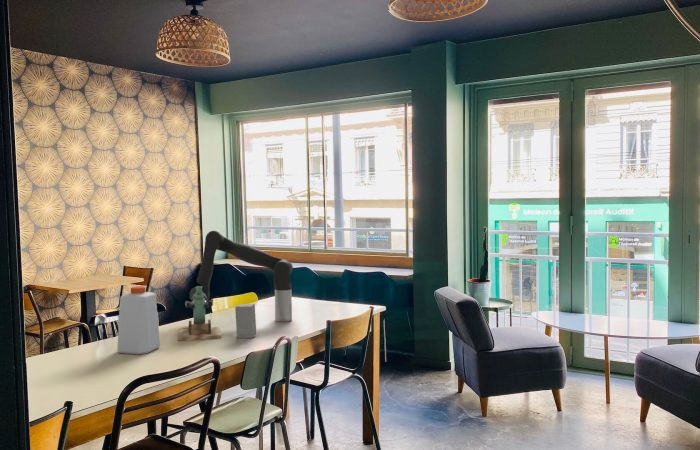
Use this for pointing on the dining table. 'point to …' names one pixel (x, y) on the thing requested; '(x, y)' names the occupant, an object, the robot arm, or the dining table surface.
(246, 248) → the robot arm
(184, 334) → the u rest
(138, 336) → the plastic bottle
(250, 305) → the skincare box
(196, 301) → the bottle
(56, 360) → the dining table surface
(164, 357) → the dining table surface
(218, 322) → the dining table surface
